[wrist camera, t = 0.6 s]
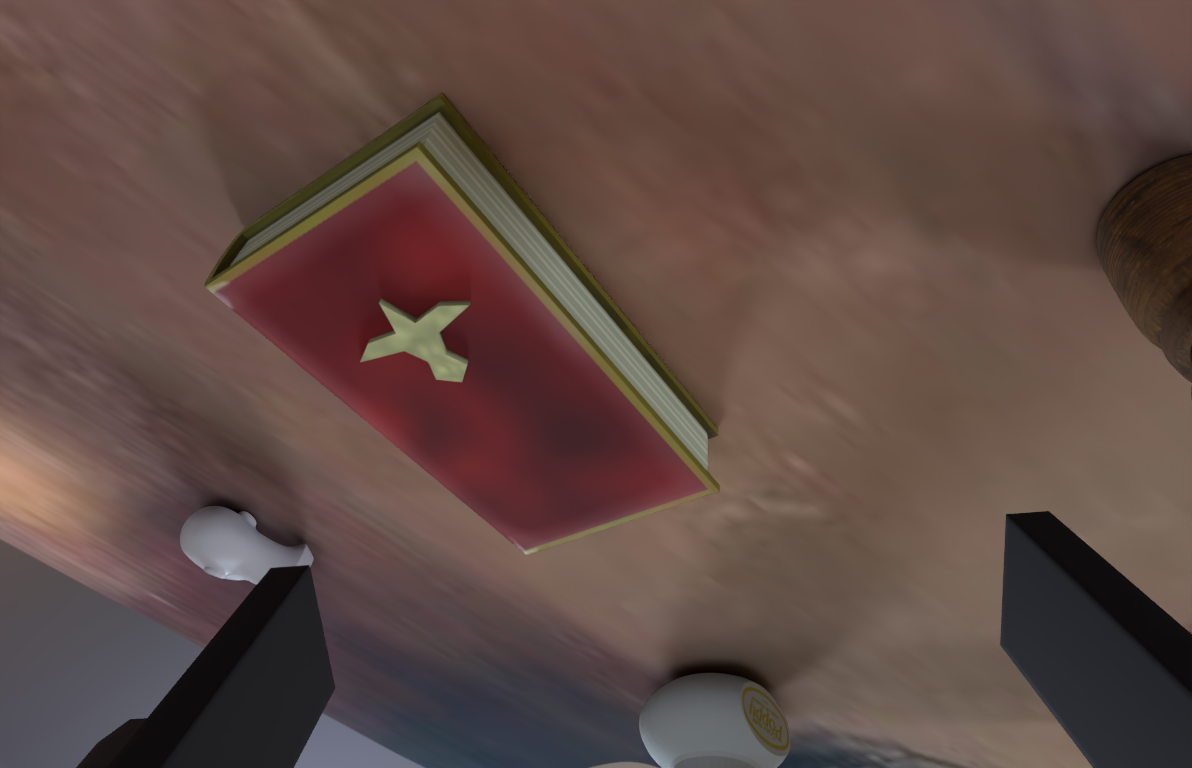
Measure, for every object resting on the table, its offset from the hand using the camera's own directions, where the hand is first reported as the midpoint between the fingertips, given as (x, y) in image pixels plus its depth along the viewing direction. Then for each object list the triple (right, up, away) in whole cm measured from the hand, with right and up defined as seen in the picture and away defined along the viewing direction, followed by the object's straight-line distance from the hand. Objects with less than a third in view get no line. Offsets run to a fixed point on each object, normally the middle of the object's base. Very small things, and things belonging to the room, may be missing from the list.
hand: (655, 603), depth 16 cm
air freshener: (+8, -18, +47) cm, 51 cm away
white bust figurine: (-22, -5, +37) cm, 43 cm away
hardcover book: (-6, +6, +23) cm, 25 cm away
